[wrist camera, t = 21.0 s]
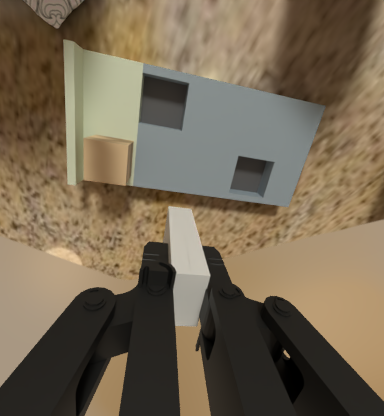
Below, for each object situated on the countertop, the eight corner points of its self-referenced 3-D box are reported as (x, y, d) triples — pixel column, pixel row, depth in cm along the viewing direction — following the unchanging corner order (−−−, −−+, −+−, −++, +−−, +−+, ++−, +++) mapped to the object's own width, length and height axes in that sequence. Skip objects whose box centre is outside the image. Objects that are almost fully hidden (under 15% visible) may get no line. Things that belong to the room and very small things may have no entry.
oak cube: (133, 140, 30) (128, 145, 26) (130, 175, 32) (125, 185, 28) (95, 134, 30) (83, 138, 25) (95, 170, 31) (83, 180, 27)
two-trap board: (313, 106, 34) (341, 105, 29) (279, 200, 40) (297, 214, 35) (82, 53, 28) (63, 39, 23) (83, 173, 34) (67, 184, 29)
